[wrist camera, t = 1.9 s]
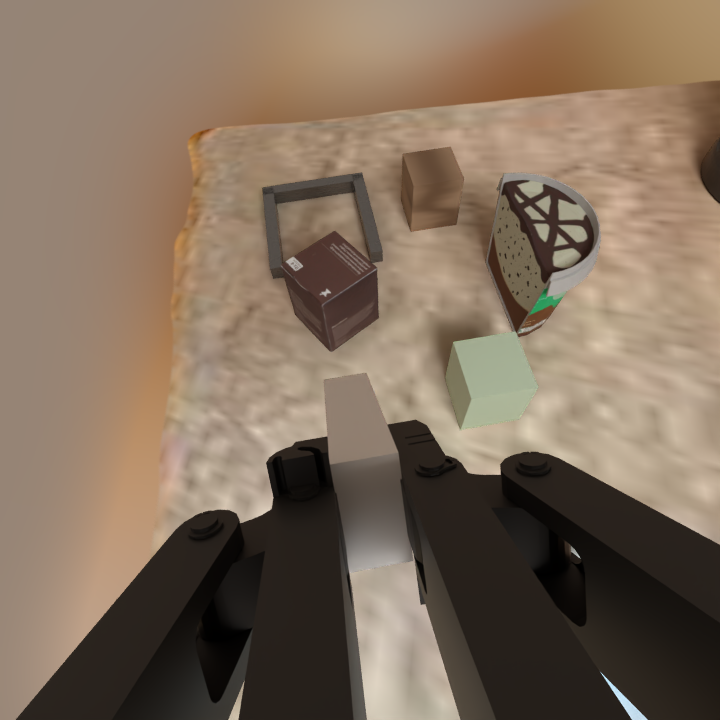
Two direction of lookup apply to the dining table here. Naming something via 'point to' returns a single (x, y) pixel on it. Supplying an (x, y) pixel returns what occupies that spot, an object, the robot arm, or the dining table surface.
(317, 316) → the box
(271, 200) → the corral
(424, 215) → the walnut block
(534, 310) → the food container
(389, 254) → the dining table surface
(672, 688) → the robot arm
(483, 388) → the sage green block
